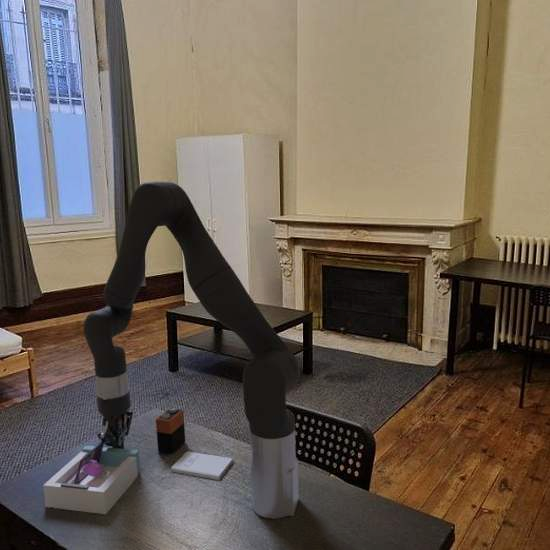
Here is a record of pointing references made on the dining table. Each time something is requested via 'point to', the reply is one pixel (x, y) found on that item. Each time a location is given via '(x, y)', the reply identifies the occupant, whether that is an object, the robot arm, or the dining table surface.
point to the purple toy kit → (91, 463)
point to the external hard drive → (202, 465)
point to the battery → (170, 430)
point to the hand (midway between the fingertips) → (119, 457)
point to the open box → (83, 495)
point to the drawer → (105, 465)
